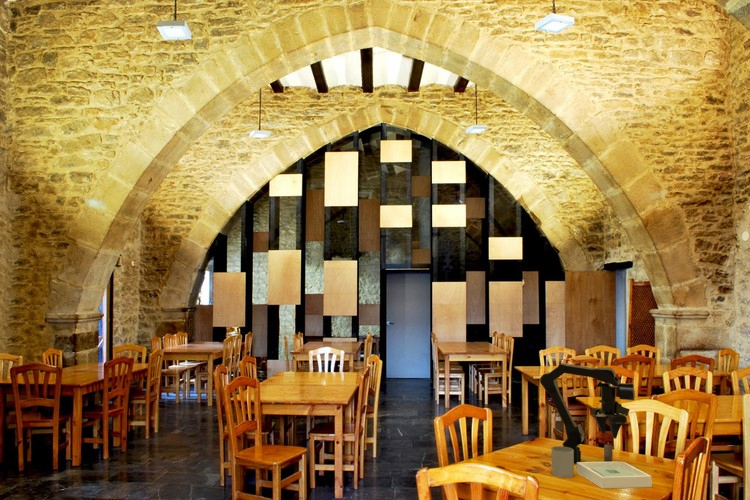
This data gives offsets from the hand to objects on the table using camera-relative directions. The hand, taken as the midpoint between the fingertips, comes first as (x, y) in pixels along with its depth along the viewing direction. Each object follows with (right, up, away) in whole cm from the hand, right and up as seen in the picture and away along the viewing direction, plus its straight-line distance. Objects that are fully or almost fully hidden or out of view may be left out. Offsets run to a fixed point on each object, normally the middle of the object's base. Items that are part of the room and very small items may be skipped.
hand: (609, 435), depth 251 cm
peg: (-1, -13, -1) cm, 13 cm away
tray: (-5, -12, -18) cm, 22 cm away
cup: (-23, -12, -12) cm, 29 cm away
